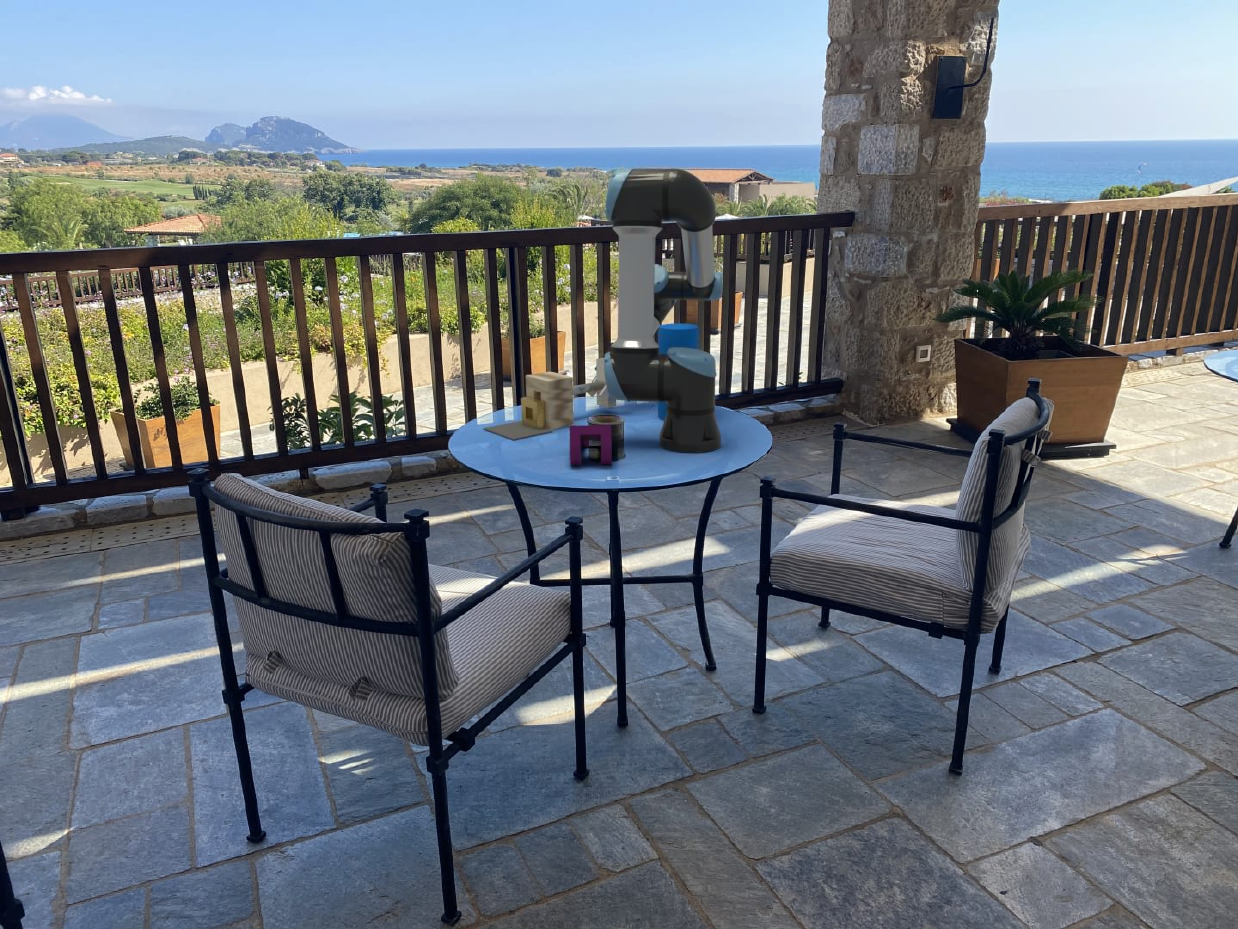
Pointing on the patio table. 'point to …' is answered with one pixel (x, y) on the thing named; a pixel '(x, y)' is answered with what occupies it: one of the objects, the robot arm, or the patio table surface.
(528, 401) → the brass spacer
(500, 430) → the rubber mat
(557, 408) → the wooden block
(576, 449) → the mounting bracket
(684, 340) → the tall blue cylinder
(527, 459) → the patio table surface
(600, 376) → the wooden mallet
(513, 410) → the patio table surface
